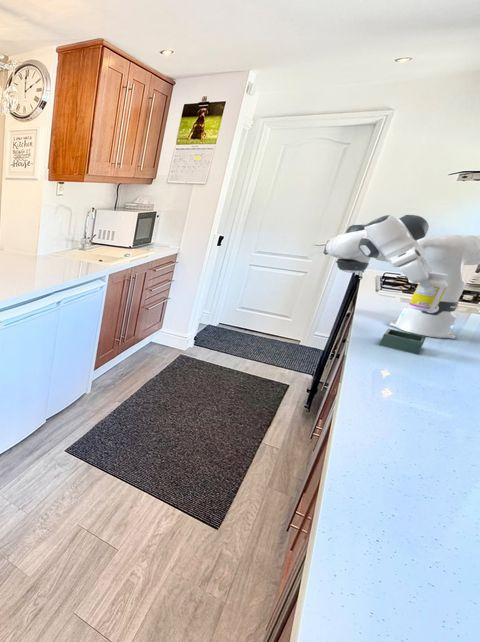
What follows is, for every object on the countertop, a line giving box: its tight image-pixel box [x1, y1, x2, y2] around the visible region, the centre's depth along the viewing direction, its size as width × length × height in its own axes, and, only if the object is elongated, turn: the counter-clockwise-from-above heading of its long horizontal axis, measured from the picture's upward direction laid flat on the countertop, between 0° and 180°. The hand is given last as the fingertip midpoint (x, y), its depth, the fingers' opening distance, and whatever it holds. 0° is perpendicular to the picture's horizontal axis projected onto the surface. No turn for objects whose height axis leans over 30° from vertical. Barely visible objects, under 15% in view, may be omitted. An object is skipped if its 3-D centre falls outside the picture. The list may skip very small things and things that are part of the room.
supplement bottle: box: [408, 272, 448, 311], centre depth 139 cm, size 7×7×13 cm
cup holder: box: [378, 328, 427, 355], centre depth 148 cm, size 10×10×4 cm
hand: (433, 289), depth 138 cm, fingers closed on supplement bottle, 6 cm apart
